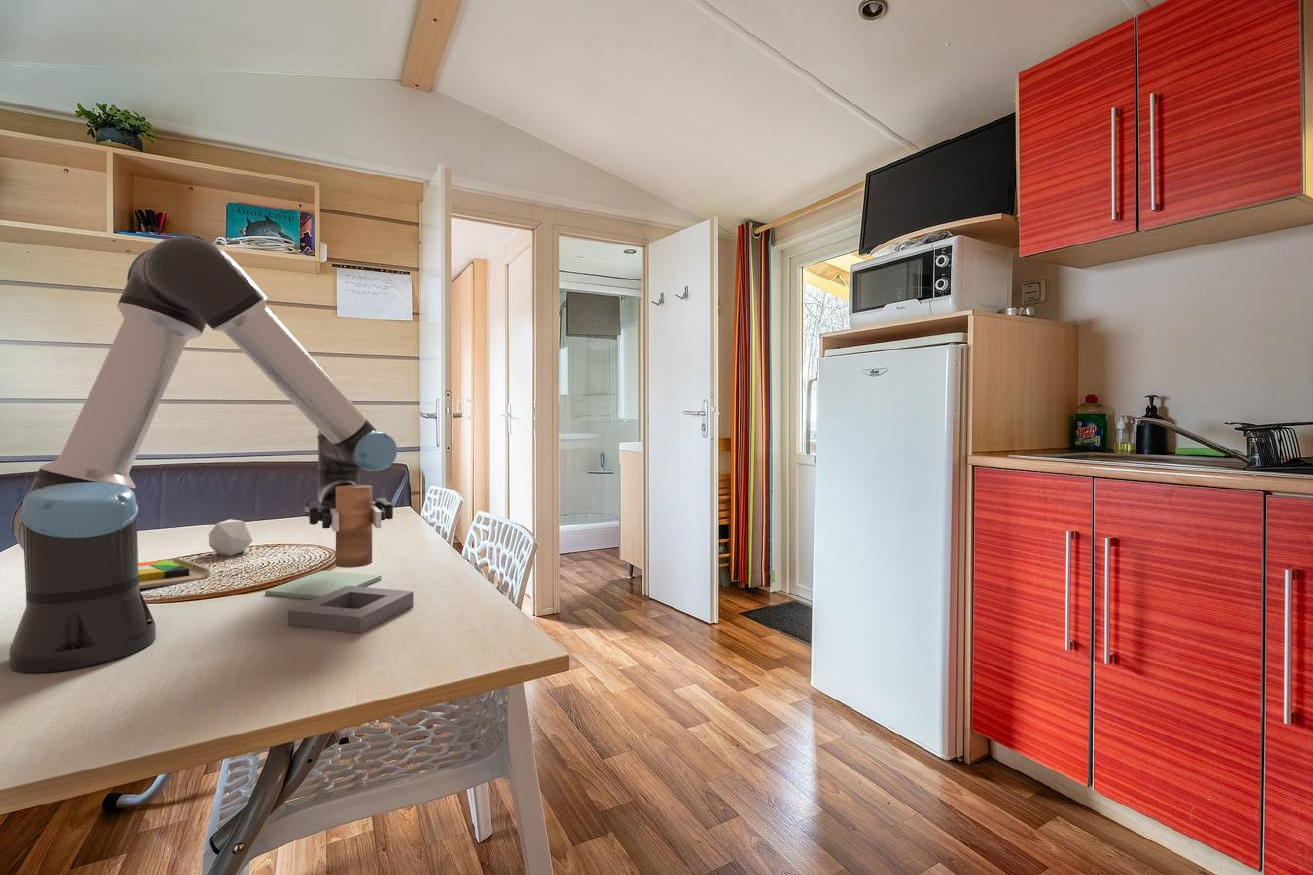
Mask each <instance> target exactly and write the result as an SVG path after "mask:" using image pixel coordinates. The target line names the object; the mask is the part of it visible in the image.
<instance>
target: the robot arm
mask: <svg viewBox="0 0 1313 875" xmlns="http://www.w3.org/2000/svg"><path fill="white" fill-rule="evenodd" d="M127 271H128V272H127V276H126V277H127V278H126V280H127V282H126V286H125V287H124V289H123V291H122V293H121V296H120V298H119V300H118V302H117V305H116V306H117V308H118V311H119V312H120V313H121V315H122V317H123V321H122V323H121V324H120V326H119V329H118V330H117V334H116V336H115V337H114V340H113V342H112V344H111V346H110V348H109V350H108V353H107V355H106V357H105V360H104V361H103V364H102V365H101V367H100V370H99V372H98V375H97V376H96V379H95V380H94V383H93V385H92V387H91V389H90V391H89V393H88V395H87V397H86V400H85V402H84V405H83V406H82V409H80V410H81V411H80V413H79V414H78V417H77V419H76V421H75V423H74V425H73V428H72V430H71V431H70V433H69V436H68V438H67V440H66V443H65V444H64V447H63V449H62V451H61V453H60V456H59V457H58V458H57V459H55V460H52V461H50V462H48V463H45V464H43V465H41V466H40V467H39V469H38V472H37V473H36V476H35V477H34V479H33V482H32V484H31V486H30V488H29V490H28V492H27V495H25V497H24V498H22V499H21V500H20V502H19V503H18V504H17V505H16V506H15V509H14V510H13V512H12V515H11V520H10V528H11V533H12V536H13V537H14V540H15V541H16V543H18V545H19V546H20V548H21V549H22V550H23V557H24V558H23V560H24V580H25V581H24V582H25V602H26V603H25V604H26V605H25V609H24V612H23V613H22V616H21V619H20V622H19V624H18V626H17V629H16V632H15V634H14V637H13V639H12V643H11V644H10V647H9V653H8V655H9V667H10V668H11V669H12V670H14V671H15V672H16V671H17V672H23V673H51V672H60V671H66V670H67V671H68V670H73V669H80V668H85V667H90V666H94V665H98V664H102V663H103V664H104V663H105V662H110V661H114V660H117V659H120V658H123V657H126V656H128V655H131V654H134V653H136V652H138V651H140V650H142V649H143V650H144V649H145V648H146V647H148V646H149V645H150V644H153V642H154V641H155V640H156V638H157V633H156V631H157V630H156V629H157V628H156V622H155V619H154V618H153V614H152V613H151V611H150V609H149V607H148V605H147V603H146V600H145V598H144V596H143V594H142V593H141V590H140V589H139V575H138V574H139V573H138V563H139V551H138V550H139V549H138V546H139V545H138V520H137V519H138V518H137V517H138V513H139V506H138V504H137V500H136V499H137V498H136V495H135V489H136V485H135V483H134V482H133V479H132V478H131V476H130V473H131V472H130V471H131V469H132V467H133V465H134V462H135V460H136V458H137V456H138V453H139V451H140V449H141V446H142V444H143V442H144V440H145V437H146V435H147V433H148V431H149V428H150V426H151V423H152V422H153V419H154V417H155V415H156V413H157V410H158V409H159V408H158V407H159V406H160V403H161V401H162V399H163V397H164V393H165V392H166V389H167V387H168V385H169V383H170V381H171V378H172V376H173V373H174V371H175V369H176V367H177V364H178V362H179V359H180V358H181V355H182V354H183V350H184V349H185V347H186V344H187V342H188V341H190V340H193V339H196V338H199V337H201V336H202V335H203V332H204V330H205V328H206V326H207V325H208V326H209V327H210V328H211V330H212V331H217V332H222V333H225V335H227V337H229V339H230V340H231V341H232V342H233V343H234V344H235V345H236V346H237V347H238V348H239V349H240V350H241V351H242V352H243V353H244V354H245V355H246V357H247V358H249V359H250V361H252V362H253V364H255V366H257V368H259V370H260V371H261V372H262V373H263V374H264V375H265V376H266V377H267V378H268V379H269V380H270V381H271V382H272V383H273V384H274V386H276V387H277V388H278V389H279V391H281V392H282V394H284V395H285V397H286V398H287V399H288V400H289V401H290V402H292V404H293V405H294V406H295V407H296V408H297V409H298V410H299V411H300V412H301V413H302V414H303V415H304V417H306V418H307V420H308V421H310V423H311V424H312V425H313V426H314V427H315V428H317V430H318V431H317V436H316V438H317V455H318V456H317V461H318V462H317V464H318V469H317V470H318V471H317V472H318V473H317V489H316V500H317V501H311V500H308V501H305V503H304V505H305V506H304V507H305V508H304V511H305V512H304V513H305V514H304V515H305V517H308V518H309V519H308V520H309V522H308V523H309V524H310V525H316V524H318V523H319V522H321V523H322V524H321V525H322V526H321V527H322V529H330V528H331V529H332V531H333V532H335V533H336V531H339V514H338V512H337V510H336V487H338V486H345V485H360V470H362V471H364V472H378V471H383V470H387V469H388V468H389V467H391V466H392V464H393V463H394V462H395V460H396V458H397V454H398V446H397V444H396V440H395V439H394V438H393V437H392V436H391V435H389V434H387V433H386V432H383V431H380V430H377V429H376V428H375V426H373V425H372V423H371V422H370V421H369V420H368V419H367V418H366V417H365V416H364V415H363V413H361V411H360V410H359V409H358V408H357V407H356V405H354V403H353V402H352V401H351V400H350V399H349V398H348V397H347V396H346V394H345V393H344V392H343V391H342V390H341V388H339V386H338V385H337V384H336V383H335V382H334V381H333V379H331V377H330V376H329V375H328V374H327V373H326V372H325V370H324V369H323V368H322V367H321V366H319V364H318V363H317V362H316V360H315V359H313V357H312V356H311V355H310V354H309V353H308V351H307V350H306V349H305V347H303V346H302V345H301V343H300V342H299V341H298V340H297V339H296V338H295V337H294V336H293V335H292V333H291V332H290V331H289V330H288V329H287V328H286V326H284V323H283V324H282V322H281V321H280V320H279V319H278V317H277V316H276V315H275V314H274V313H273V312H272V310H270V308H269V307H268V305H267V299H268V296H266V294H265V293H264V292H263V291H262V290H261V289H260V287H259V286H258V285H257V284H256V283H255V282H254V281H253V280H252V278H251V277H250V276H249V275H248V274H247V273H246V272H245V270H244V269H243V268H242V267H241V266H240V265H239V264H238V263H237V262H236V261H235V260H234V259H233V258H232V257H231V256H230V255H229V254H228V253H227V252H225V251H224V250H223V249H222V248H220V247H218V246H217V245H216V244H214V243H212V242H210V241H207V240H204V239H201V238H198V237H195V236H194V237H193V236H184V235H182V236H172V237H170V238H166V239H164V240H162V241H160V242H158V243H157V244H155V246H153V247H152V248H150V249H147V250H145V251H143V252H142V253H139V255H138V256H137V257H136V258H135V259H134V260H133V261H132V263H131V265H130V266H129V268H128V270H127ZM393 513H394V505H393V504H392V503H391V502H389V501H388V500H387V497H384V496H383V497H380V498H376V499H375V501H372V526H374V528H375V529H382V521H385V520H392V519H393V518H394V514H393Z"/></svg>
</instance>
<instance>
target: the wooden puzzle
mask: <svg viewBox="0 0 1313 875" xmlns="http://www.w3.org/2000/svg"><path fill="white" fill-rule="evenodd" d="M138 573H139V574H138V575H139V590H140V589H149V588H157V587H164V586H172V585H173V584H174V585H179V583H180V584H185V583H189V581H190V582H195V581H200V580H205V579H208V578H209V577H210V576H211V573H212V570H211V568H209V567H207V566H203V565H202V564H197V563H195V562H193V561H189V560H187V559H184V558H180V557H177V558H175V559H174V560H173V561H170V560H168V559H164V560H153V561H143V562H138ZM204 578H205V579H204ZM194 580H195V581H194ZM184 582H185V583H184Z"/></svg>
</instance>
